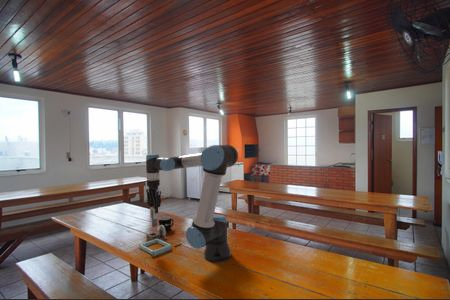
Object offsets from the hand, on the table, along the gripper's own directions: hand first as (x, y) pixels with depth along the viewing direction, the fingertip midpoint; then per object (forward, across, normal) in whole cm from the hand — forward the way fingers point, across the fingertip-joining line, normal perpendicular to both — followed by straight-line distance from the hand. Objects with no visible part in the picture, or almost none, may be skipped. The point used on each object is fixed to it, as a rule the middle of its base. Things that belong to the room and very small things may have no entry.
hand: (154, 217), depth 153 cm
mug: (+20, +22, -24) cm, 38 cm away
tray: (+20, 0, 0) cm, 20 cm away
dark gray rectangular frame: (+20, 0, -12) cm, 23 cm away
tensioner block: (+20, +13, -8) cm, 25 cm away
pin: (+5, 0, 0) cm, 5 cm away
